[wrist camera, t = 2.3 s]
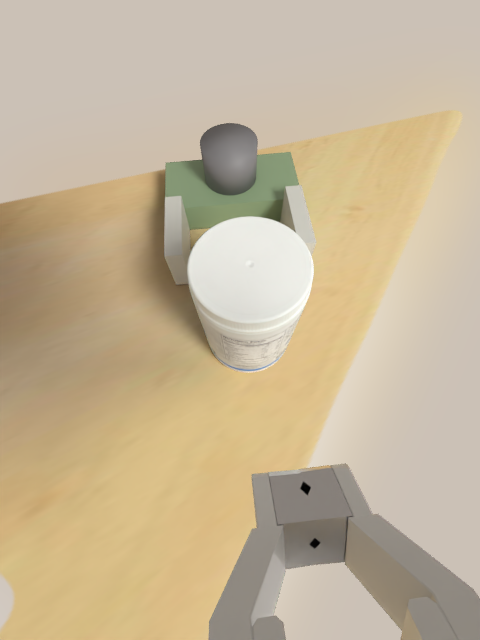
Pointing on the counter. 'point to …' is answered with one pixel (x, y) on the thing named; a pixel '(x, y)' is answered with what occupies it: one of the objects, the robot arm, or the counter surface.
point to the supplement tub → (249, 289)
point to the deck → (231, 205)
